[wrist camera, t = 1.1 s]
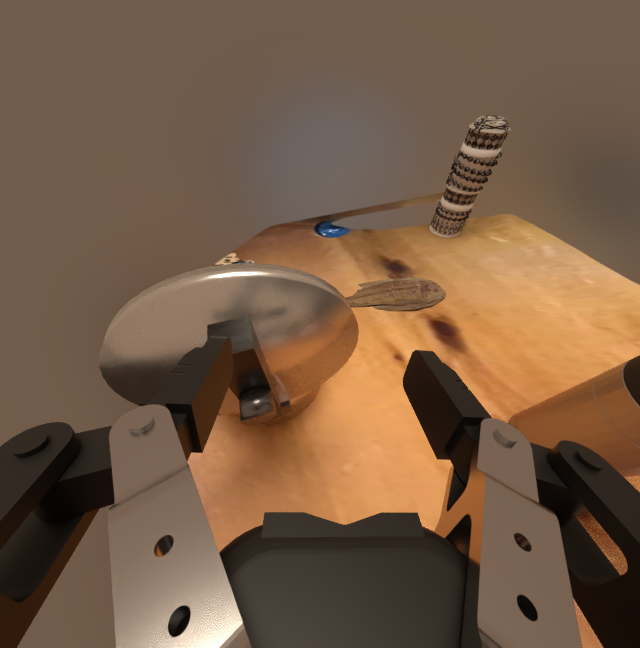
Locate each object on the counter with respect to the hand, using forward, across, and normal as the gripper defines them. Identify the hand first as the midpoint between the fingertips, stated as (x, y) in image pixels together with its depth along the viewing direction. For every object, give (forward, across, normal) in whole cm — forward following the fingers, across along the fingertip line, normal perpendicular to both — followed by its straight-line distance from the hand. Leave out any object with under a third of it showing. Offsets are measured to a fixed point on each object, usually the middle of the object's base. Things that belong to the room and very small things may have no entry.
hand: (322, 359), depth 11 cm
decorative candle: (+63, -39, 0) cm, 74 cm away
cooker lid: (+7, +5, +6) cm, 11 cm away
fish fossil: (+41, -18, +13) cm, 46 cm away
